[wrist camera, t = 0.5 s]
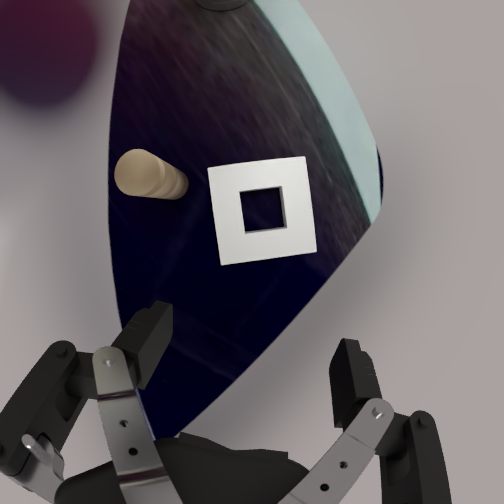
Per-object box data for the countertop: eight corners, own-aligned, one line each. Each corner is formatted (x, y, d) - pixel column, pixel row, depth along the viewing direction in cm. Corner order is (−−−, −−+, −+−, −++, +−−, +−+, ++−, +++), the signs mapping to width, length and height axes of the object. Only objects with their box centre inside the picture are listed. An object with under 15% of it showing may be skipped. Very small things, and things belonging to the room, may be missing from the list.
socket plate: (209, 170, 35) (207, 168, 32) (300, 159, 35) (305, 156, 33) (222, 261, 37) (221, 265, 34) (311, 248, 37) (316, 251, 34)
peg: (158, 172, 35) (113, 155, 21) (186, 167, 35) (154, 144, 21) (161, 201, 35) (117, 199, 21) (190, 196, 35) (159, 190, 22)
